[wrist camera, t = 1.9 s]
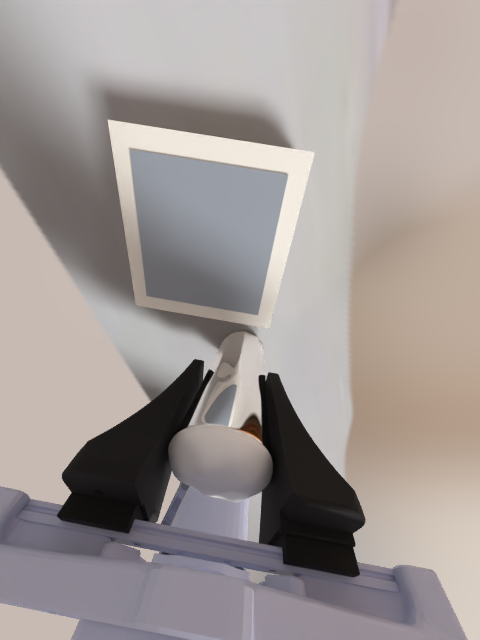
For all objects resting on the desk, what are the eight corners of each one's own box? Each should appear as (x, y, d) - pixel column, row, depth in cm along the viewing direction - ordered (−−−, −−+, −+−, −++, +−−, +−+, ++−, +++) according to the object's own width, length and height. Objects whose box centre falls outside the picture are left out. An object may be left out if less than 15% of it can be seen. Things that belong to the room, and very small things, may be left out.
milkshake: (197, 350, 16) (113, 512, 7) (241, 311, 14) (194, 482, 5) (236, 381, 17) (203, 552, 9) (283, 350, 15) (302, 543, 6)
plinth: (267, 309, 13) (269, 329, 11) (155, 290, 14) (134, 306, 11) (302, 165, 9) (315, 151, 7) (142, 139, 10) (105, 118, 7)
